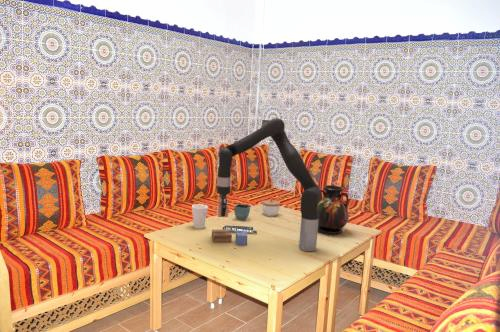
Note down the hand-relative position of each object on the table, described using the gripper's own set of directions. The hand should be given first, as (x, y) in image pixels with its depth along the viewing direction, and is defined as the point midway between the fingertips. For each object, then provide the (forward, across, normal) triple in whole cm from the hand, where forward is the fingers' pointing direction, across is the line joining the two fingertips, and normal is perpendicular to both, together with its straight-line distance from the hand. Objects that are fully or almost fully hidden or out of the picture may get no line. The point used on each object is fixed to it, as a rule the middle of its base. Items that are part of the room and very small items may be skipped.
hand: (222, 214), depth 217 cm
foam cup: (+14, +22, +11) cm, 28 cm away
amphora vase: (+14, +12, -69) cm, 72 cm away
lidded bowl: (+15, +48, -40) cm, 64 cm away
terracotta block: (+1, 0, 0) cm, 1 cm away
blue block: (+14, -7, -10) cm, 19 cm away
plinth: (+14, 0, 0) cm, 14 cm away
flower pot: (+15, +38, -18) cm, 44 cm away
